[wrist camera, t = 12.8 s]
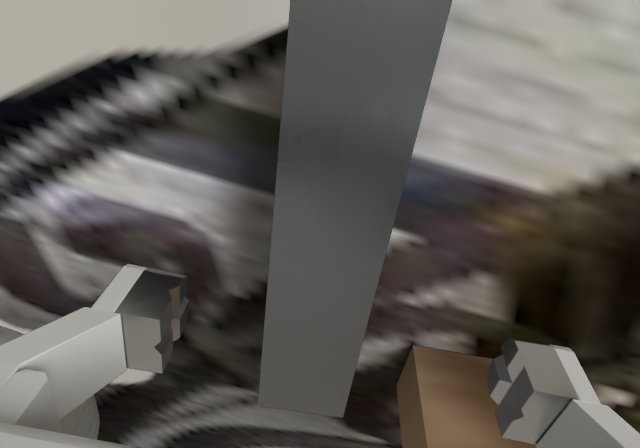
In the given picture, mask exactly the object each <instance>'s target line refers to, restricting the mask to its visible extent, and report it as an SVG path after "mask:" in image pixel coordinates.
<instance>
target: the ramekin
mask: <svg viewBox="0 0 640 448" xmlns="http://www.w3.org/2000/svg"><path fill="white" fill-rule="evenodd" d="M22 335H24V334H22V333H19V332H17V331H14V330H11V329H8V328H5V327H2V326H0V346H1V345H3V344H5V343H7V342H9V341H12V340H14V339H16V338H18V337H20V336H22ZM59 421H60V425H61V428H62V432H63V434H69V435H74V436H79V437H85V438H90V439H96V440H97V437H98V433H99V426H100V419H99V411H98V408H97V403H96V399H95V396H94V395H92V396H91V397H90V398H88V399H87V400H85V401H84V402H83V403H81V404H80V405H79V406H77V407H76V408H75V409H73V410H72V411H71V412H69V413H68V414H67V415H65V416H64V417H62V418H61V419H60V420H59Z"/></svg>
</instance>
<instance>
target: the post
mask: <svg viewBox="0 0 640 448" xmlns="http://www.w3.org/2000/svg"><path fill="white" fill-rule="evenodd" d="M492 361H493V359H491V358H485V357H479V356H474V355H468V354H462V353H456V352H450V351H444V350H438V349H432V348H426V347H420V346H414V345H413V346H412V348H411V351H410V353H409V356H408V358H407V361H406V363H405V366H404V368H403V371H402V373H401V376H400V378H399V381H398V383H397V385H396V387H397V397H398V408H399V419H400V430H401V440H402V448H536V445H535V444H530V443H526V442H521V441H516V440H512V439H507V438H503V437H501V433H500V430H499V426H498V423H497V419H496V416H495V410H496V409H497V407H498V404H497V403H496V402H495V401H494V400H493V399H492V398H491V397H490V394H489V390H488V384H487V376H488V370H489V367H490V365H491V363H492Z"/></svg>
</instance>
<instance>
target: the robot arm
mask: <svg viewBox="0 0 640 448" xmlns="http://www.w3.org/2000/svg"><path fill="white" fill-rule="evenodd" d="M188 289H189V278H188V277H187V276H184V275H180V274H175V273H171V272H166V271H161V270H157V269H152V268H145V267H140V266H136V265H131V264H127V265H125V266H124V267H122V269H121V270H120V271H119V272H118V274H117V275H116V276H115V278H114V279H113V280H112V281H111V283H110V284H109V285H108V287H107V288H106V289H105V290H104V292H103V293H102V294H101V295H100V297H99V298H98V299H97V301H96V302H95V303H94V304H93V306H92V307H91V308H88V307H83V308H81V309H79V310H77V311H75V312H73V313H70V314H68V315H66V316H64V317H62V318H59V319H57V320H55V321H53V322H51V323H49V324H46V325H44V326H42V327H40V328H38V329H36V330H33V331H31V332H29V333H27V334H25V335H22V336H20V337H18V338H16V339H14V340H12V341H9V342H7V343H5V344H3V345H1V346H0V448H139V447H133V446H128V445H122V444H117V443H112V442H106V441H101V440H96V439H90V438H85V437H79V436H74V435H69V434H63V432H62V428H61V425H60V421H59V420H60V419H61V418H62V417H64V416H65V415H67V414H68V413H69V412H71V411H72V410H73V409H75V408H76V407H77V406H79V405H80V404H81V403H83V402H84V401H85V400H87V399H88V398H90V397H91V396H92V395H94V394H95V393H96V392H98V391H99V390H100V389H102V388H103V387H105V386H106V385H107V384H109V383H110V382H111V381H113V380H114V379H115V378H117V377H118V376H119V375H121V374H122V373H123V372H125V371H126V370H127V368H130V369H137V370H143V371H149V372H156V373H163V371H164V369H165V367H166V365H167V363H168V361H169V359H170V357H171V355H172V353H173V342H174V341H175V340H177V339H178V338H180V337H181V334H182V332H183V330H184V328H185V324H186V321H187V318H188V311H189V301H188V299H187V298H186V297H185V295H186V293H187V291H188ZM500 348H501V351H502V355H500V356H499V357H497V358H495V359H493V361H492V363H491V365H490V367H489V370H488V376H487V384H488V390H489V394H490V397H491V398H492V399H493V400H494V401H495V402H496V403H497V404H498V407H497V409H496V410H495V416H496V419H497V423H498V426H499V430H500V433H501V437H503V438H507V439H512V440H516V441H521V442H526V443H530V444H535V445H536V448H640V434H639V433H638V432H637V431H636V430H635V429H634V428H632V427H631V426H630V425H629V424H628V423H627V422H626V421H624V420H623V419H622V418H621V417H620V416H619V415H618V414H616V413H615V412H614V411H613V410H612V409H611V408H610V407H608V406H606V405H601V403H600V401H599V399H598V397H597V395H596V393H595V391H594V390H593V388H592V386H591V384H590V382H589V380H588V378H587V376H586V374H585V372H584V370H583V368H582V367H581V365H580V363H579V361H578V359H577V357H576V355H575V353H574V352H573V351H572V350H571V349H570V348H567V347H562V346H556V345H550V344H548V345H547V344H543V343H538V342H532V341H527V340H521V339H516V338H510V337H509V338H507V339H506V340H505V341H504V342H503V344H502V345H501V347H500Z"/></svg>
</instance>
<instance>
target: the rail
mask: <svg viewBox="0 0 640 448" xmlns="http://www.w3.org/2000/svg"><path fill="white" fill-rule="evenodd" d="M451 3H452V0H290V13H289V25H288V38H287V50H286V62H285V75H284V87H283V99H282V112H281V124H280V136H279V149H278V161H277V174H276V186H275V198H274V211H273V223H272V235H271V248H270V260H269V272H268V285H267V297H266V310H265V322H264V334H263V347H262V359H261V371H260V384H259V396H258V406H261V407H268V408H276V409H283V410H290V411H297V412H305V413H312V414H319V415H327V416H334V417H341V418H343V415H344V411H345V408H346V404H347V400H348V396H349V392H350V389H351V385H352V381H353V377H354V373H355V369H356V366H357V362H358V358H359V354H360V350H361V347H362V343H363V339H364V335H365V331H366V328H367V324H368V320H369V316H370V312H371V308H372V305H373V301H374V297H375V293H376V289H377V286H378V282H379V278H380V274H381V270H382V266H383V263H384V259H385V255H386V251H387V247H388V244H389V240H390V236H391V232H392V228H393V224H394V221H395V217H396V213H397V209H398V205H399V202H400V198H401V194H402V190H403V186H404V183H405V179H406V175H407V171H408V167H409V163H410V160H411V156H412V152H413V148H414V144H415V141H416V137H417V133H418V129H419V125H420V121H421V118H422V114H423V110H424V106H425V102H426V99H427V95H428V91H429V87H430V83H431V79H432V76H433V72H434V68H435V64H436V60H437V57H438V53H439V49H440V45H441V41H442V38H443V34H444V30H445V26H446V22H447V18H448V15H449V11H450V7H451Z"/></svg>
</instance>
